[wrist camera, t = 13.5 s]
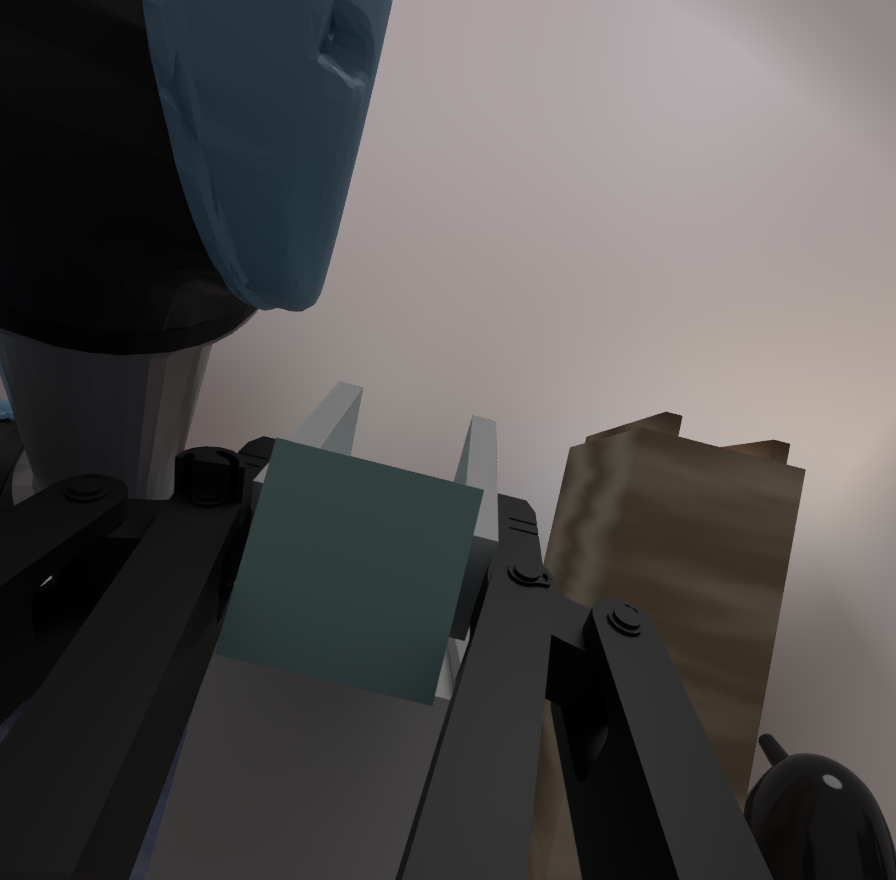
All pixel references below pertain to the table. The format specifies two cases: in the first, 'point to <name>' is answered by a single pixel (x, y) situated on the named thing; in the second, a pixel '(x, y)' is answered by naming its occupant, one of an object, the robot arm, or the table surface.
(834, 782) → the pump dispenser
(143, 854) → the table surface
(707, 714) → the brown tall block
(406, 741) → the block
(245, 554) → the teal block
